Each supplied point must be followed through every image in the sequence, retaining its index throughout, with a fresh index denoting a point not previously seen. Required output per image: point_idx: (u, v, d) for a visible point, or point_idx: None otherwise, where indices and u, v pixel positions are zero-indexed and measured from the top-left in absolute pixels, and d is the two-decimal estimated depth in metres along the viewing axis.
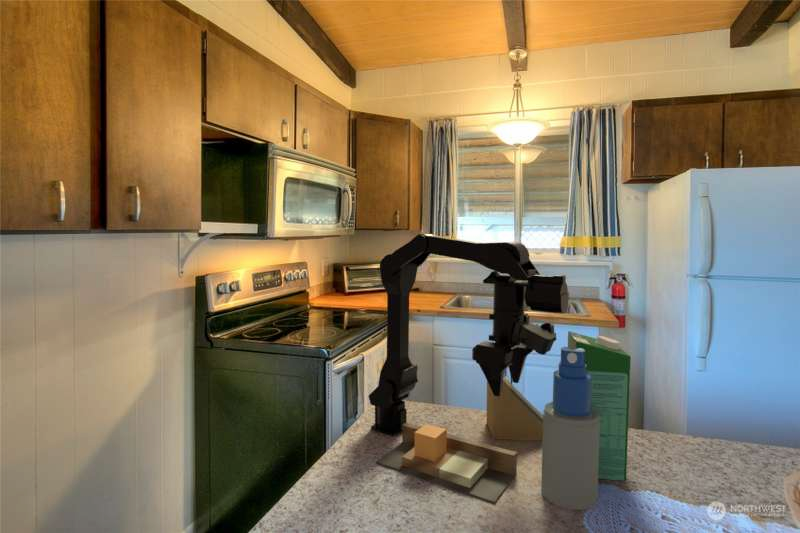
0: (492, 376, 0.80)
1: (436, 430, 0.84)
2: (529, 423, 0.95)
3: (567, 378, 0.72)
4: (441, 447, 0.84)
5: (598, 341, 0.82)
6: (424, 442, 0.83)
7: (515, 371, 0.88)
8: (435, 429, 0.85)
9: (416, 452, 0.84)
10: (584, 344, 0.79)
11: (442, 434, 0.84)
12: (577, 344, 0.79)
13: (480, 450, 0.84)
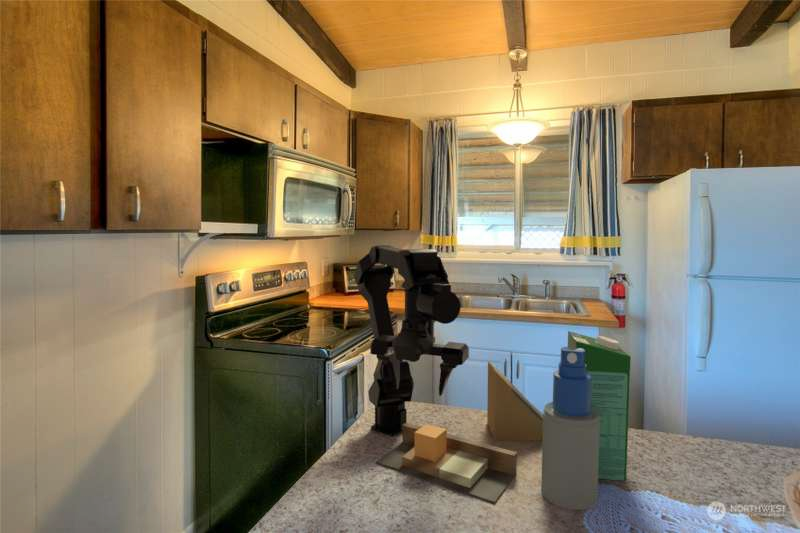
0: None
1: (436, 430, 0.84)
2: (530, 423, 0.95)
3: (567, 378, 0.72)
4: (441, 447, 0.84)
5: (598, 341, 0.82)
6: (424, 442, 0.83)
7: None
8: (435, 429, 0.85)
9: (416, 452, 0.84)
10: (584, 344, 0.79)
11: (442, 434, 0.84)
12: (577, 344, 0.79)
13: (480, 450, 0.84)
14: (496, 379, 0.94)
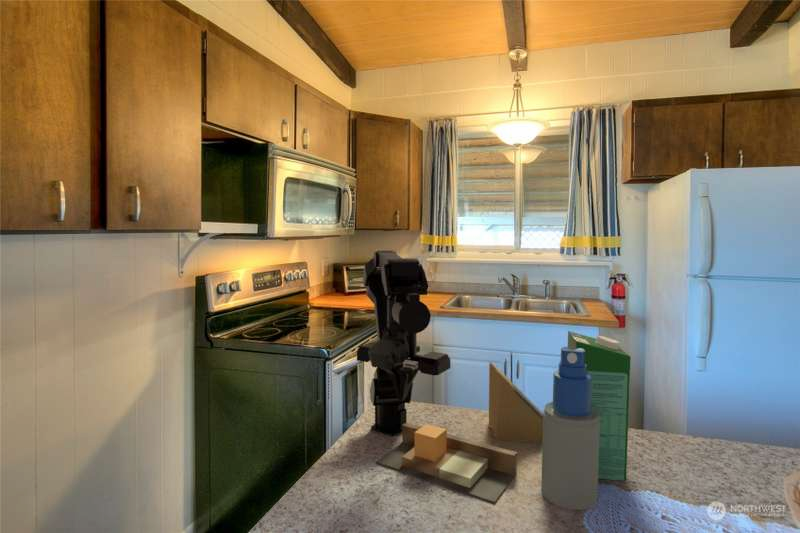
0: None
1: (436, 430, 0.84)
2: (533, 423, 0.95)
3: (567, 378, 0.72)
4: (441, 447, 0.84)
5: (598, 341, 0.82)
6: (424, 442, 0.83)
7: None
8: (435, 429, 0.85)
9: (416, 452, 0.84)
10: (584, 344, 0.79)
11: (442, 434, 0.84)
12: (577, 344, 0.79)
13: (480, 450, 0.84)
14: (499, 380, 0.94)
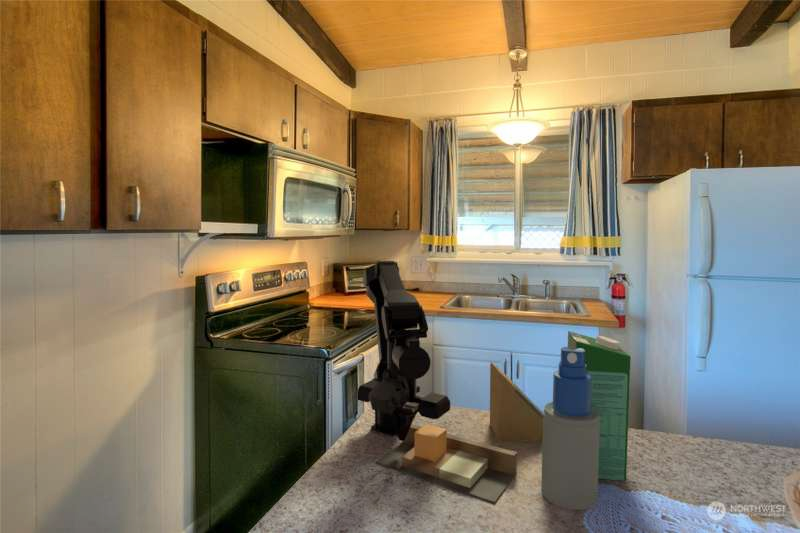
0: None
1: (436, 430, 0.84)
2: (534, 423, 0.95)
3: (567, 378, 0.72)
4: (441, 447, 0.84)
5: (598, 341, 0.82)
6: (424, 442, 0.83)
7: None
8: (435, 429, 0.85)
9: (416, 452, 0.84)
10: (584, 344, 0.79)
11: (442, 434, 0.84)
12: (577, 344, 0.79)
13: (480, 450, 0.84)
14: (500, 380, 0.94)
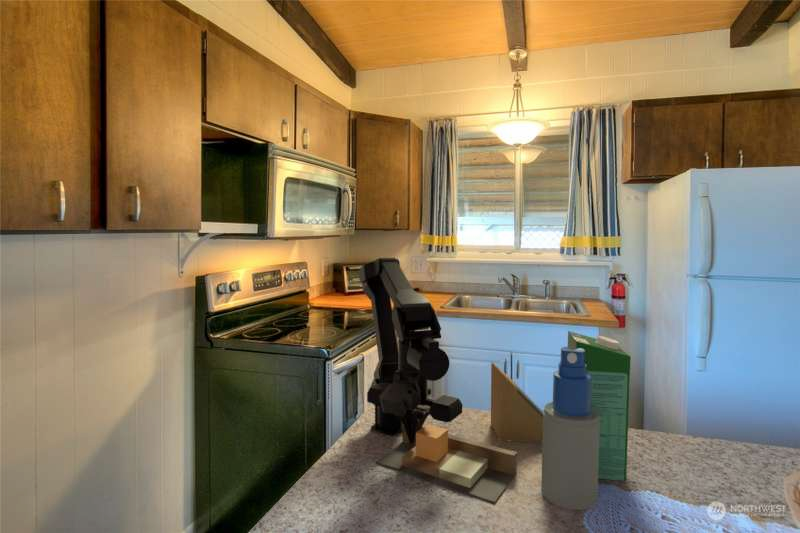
0: None
1: (437, 431, 0.84)
2: (536, 424, 0.95)
3: (567, 378, 0.72)
4: (442, 447, 0.83)
5: (598, 341, 0.82)
6: (425, 442, 0.83)
7: None
8: (437, 430, 0.85)
9: (417, 452, 0.84)
10: (584, 344, 0.79)
11: (444, 434, 0.84)
12: (577, 344, 0.79)
13: (480, 450, 0.84)
14: (502, 380, 0.93)
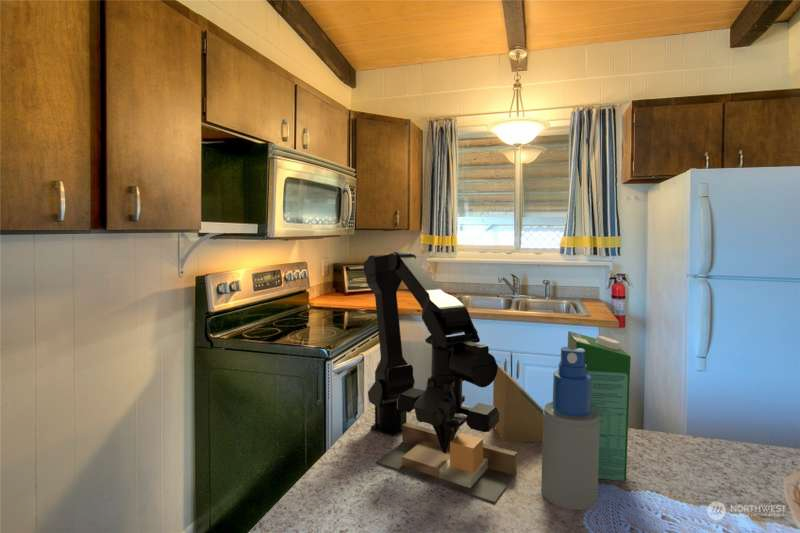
0: None
1: (472, 440, 0.81)
2: (539, 424, 0.94)
3: (567, 378, 0.72)
4: (478, 457, 0.80)
5: (598, 341, 0.82)
6: (460, 452, 0.79)
7: None
8: (471, 439, 0.81)
9: (452, 463, 0.80)
10: (584, 344, 0.79)
11: (479, 444, 0.80)
12: (577, 344, 0.79)
13: None
14: (505, 381, 0.93)
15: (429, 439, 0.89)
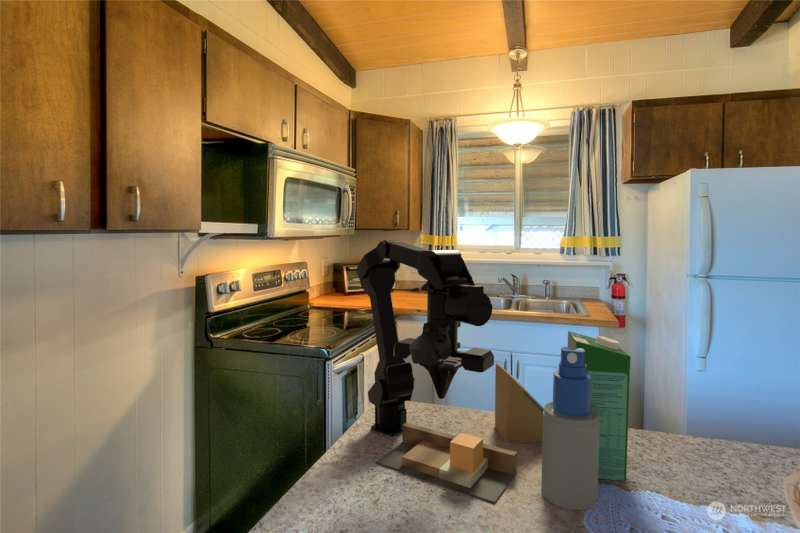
0: None
1: (472, 440, 0.81)
2: (542, 424, 0.94)
3: (567, 378, 0.72)
4: (478, 457, 0.80)
5: (598, 341, 0.82)
6: (460, 452, 0.79)
7: None
8: (471, 439, 0.81)
9: (452, 463, 0.80)
10: (584, 344, 0.79)
11: (479, 444, 0.80)
12: (577, 344, 0.79)
13: None
14: (508, 381, 0.93)
15: (429, 439, 0.89)
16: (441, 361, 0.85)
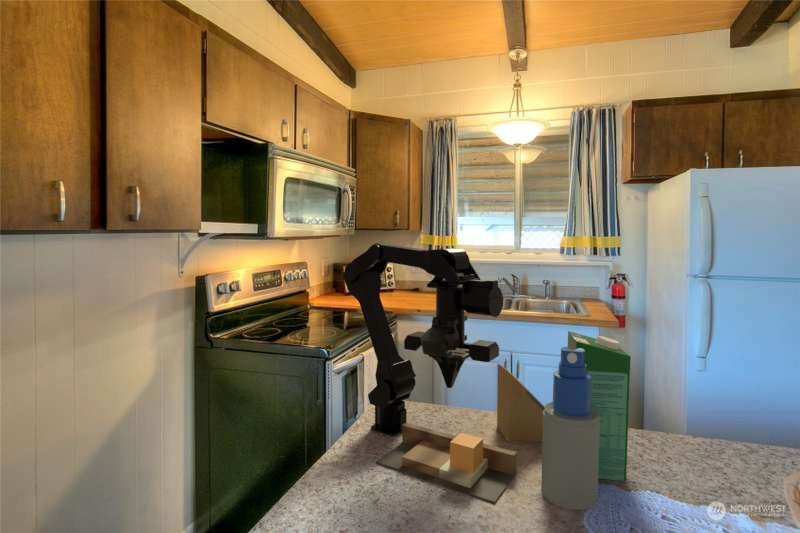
0: None
1: (472, 440, 0.81)
2: None
3: (567, 378, 0.72)
4: (478, 457, 0.80)
5: (598, 341, 0.82)
6: (460, 452, 0.79)
7: None
8: (471, 439, 0.81)
9: (452, 463, 0.80)
10: (584, 344, 0.79)
11: (479, 444, 0.80)
12: (577, 344, 0.79)
13: None
14: (511, 381, 0.93)
15: (429, 439, 0.89)
16: (449, 353, 0.91)
